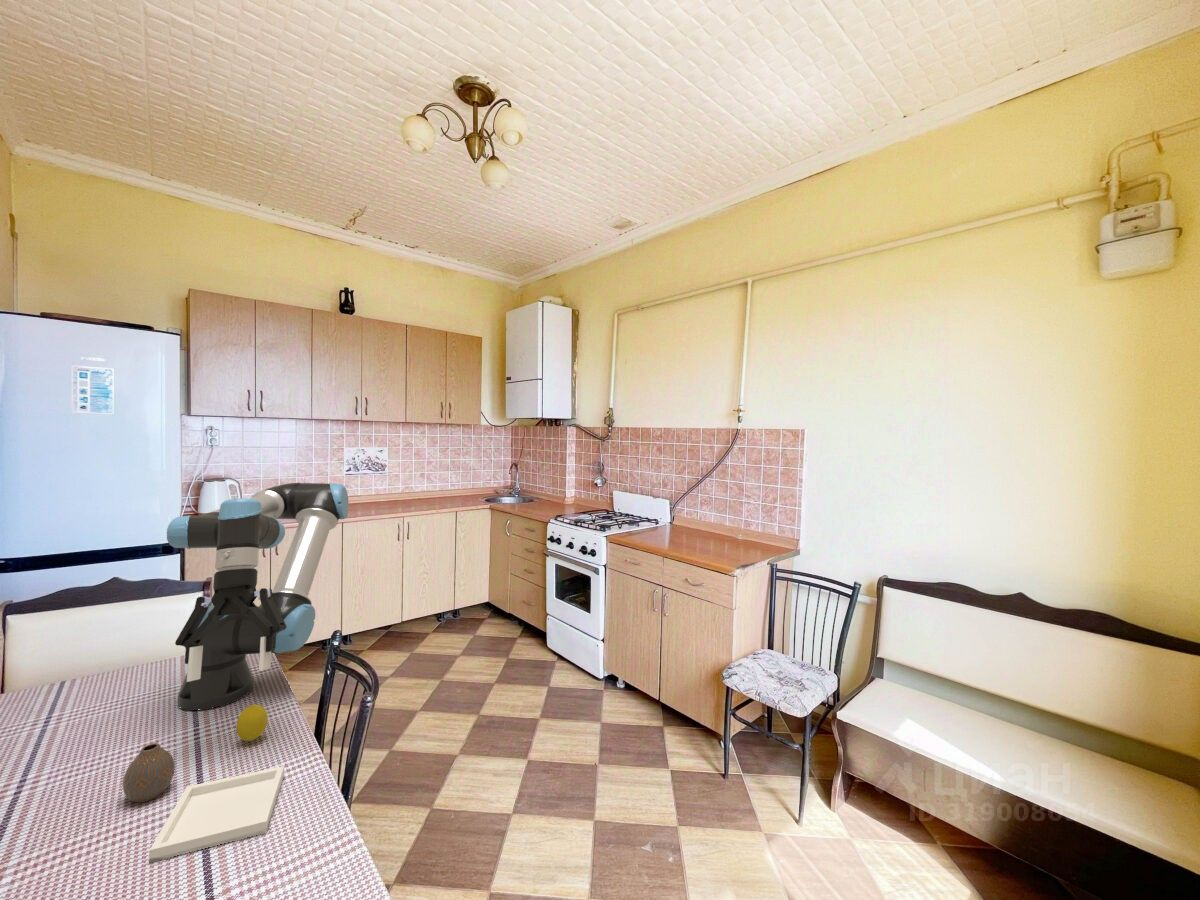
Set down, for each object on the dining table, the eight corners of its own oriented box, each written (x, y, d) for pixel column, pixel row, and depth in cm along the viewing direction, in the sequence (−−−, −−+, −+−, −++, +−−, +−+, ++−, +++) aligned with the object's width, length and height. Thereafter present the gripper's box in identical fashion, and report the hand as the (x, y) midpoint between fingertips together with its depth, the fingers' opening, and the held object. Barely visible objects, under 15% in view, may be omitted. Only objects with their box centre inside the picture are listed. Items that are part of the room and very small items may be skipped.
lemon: (250, 750, 100) (251, 713, 100) (229, 747, 101) (230, 709, 101) (273, 735, 106) (274, 699, 106) (252, 732, 107) (253, 696, 107)
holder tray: (186, 797, 87) (186, 786, 87) (283, 776, 93) (284, 765, 93) (149, 863, 73) (149, 850, 73) (266, 833, 79) (266, 821, 79)
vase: (129, 814, 82) (130, 764, 82) (117, 798, 86) (118, 750, 86) (180, 790, 88) (181, 743, 88) (166, 776, 92) (167, 731, 92)
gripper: (160, 577, 98) (147, 688, 93) (288, 560, 101) (283, 667, 96) (187, 578, 106) (177, 681, 100) (306, 562, 109) (303, 662, 103)
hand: (229, 675), depth 98 cm, fingers open, 13 cm apart
